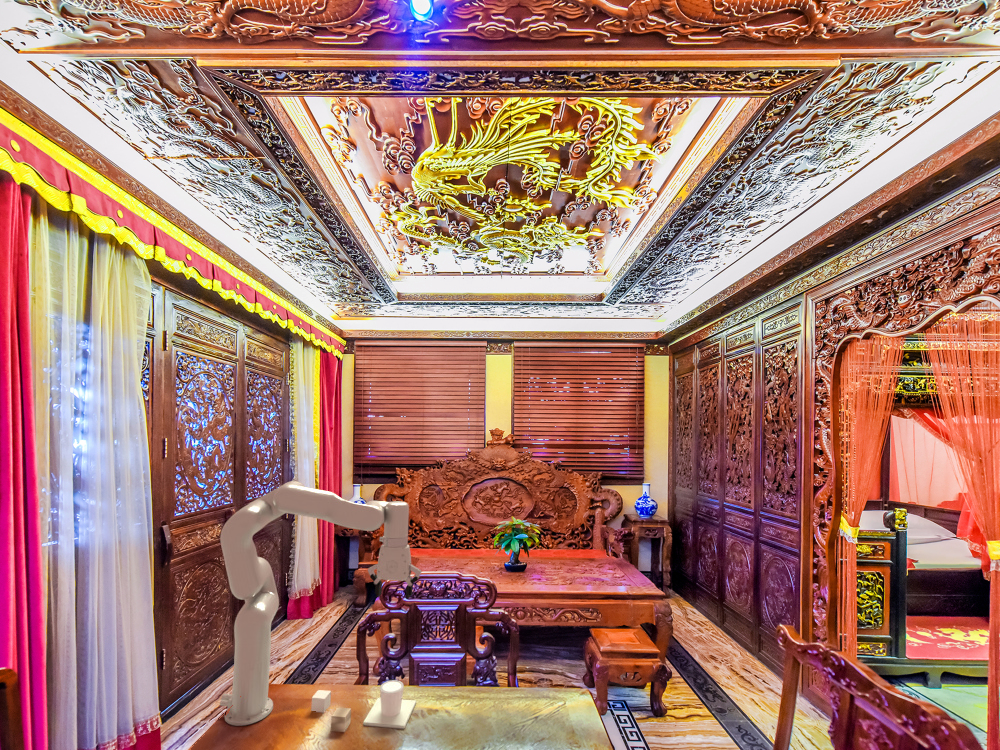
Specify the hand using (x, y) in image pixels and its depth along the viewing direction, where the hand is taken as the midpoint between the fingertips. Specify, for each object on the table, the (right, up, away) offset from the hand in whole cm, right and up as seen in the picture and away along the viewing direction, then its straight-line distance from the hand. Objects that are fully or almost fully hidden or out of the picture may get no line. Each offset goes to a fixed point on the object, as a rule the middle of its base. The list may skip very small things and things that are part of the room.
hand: (393, 596), depth 152 cm
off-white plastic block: (-20, -29, -9) cm, 36 cm away
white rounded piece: (+2, -29, -11) cm, 31 cm away
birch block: (-11, -29, -17) cm, 35 cm away
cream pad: (+2, -30, -11) cm, 31 cm away
